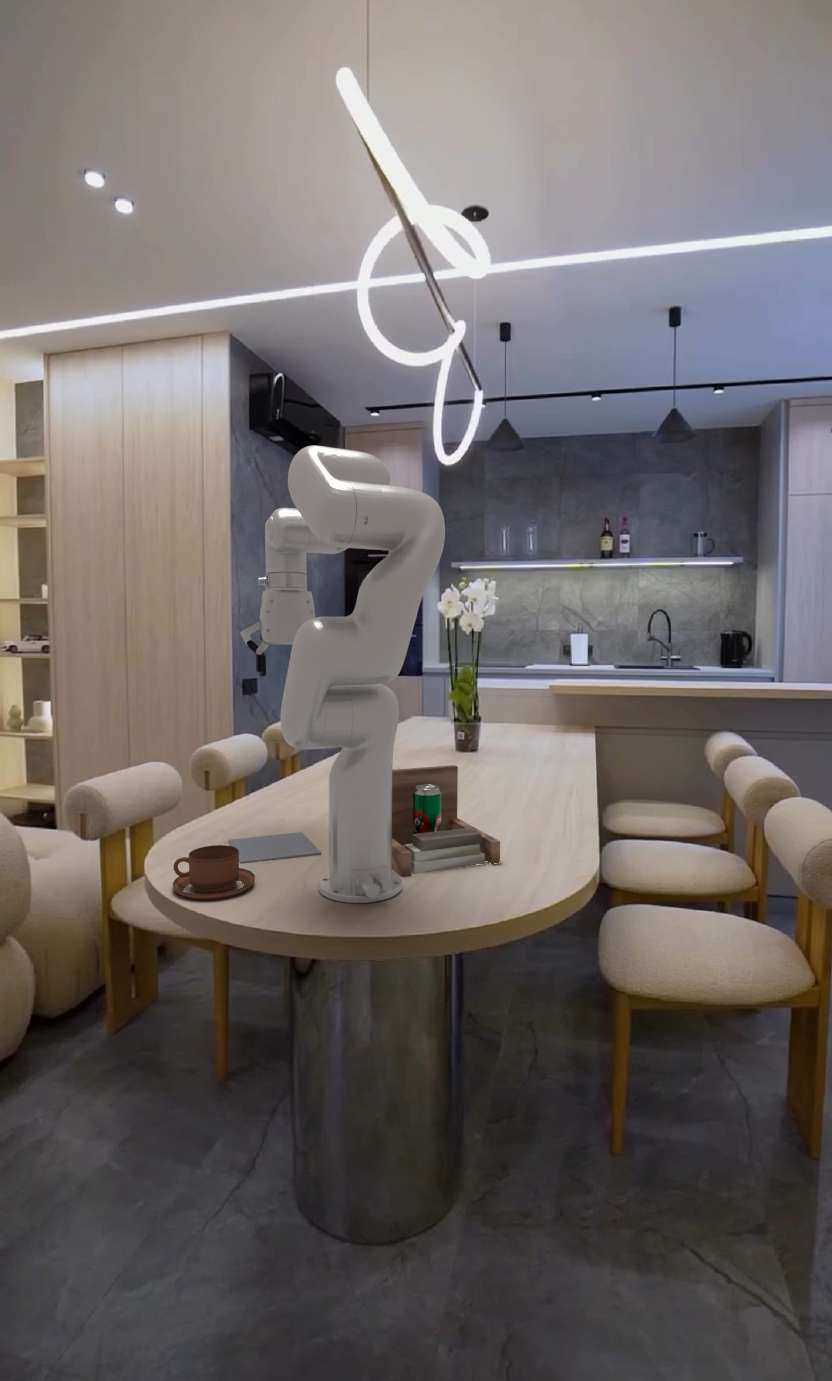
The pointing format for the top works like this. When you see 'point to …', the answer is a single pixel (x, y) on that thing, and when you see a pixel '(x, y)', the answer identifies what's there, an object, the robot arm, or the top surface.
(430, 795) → the soda can
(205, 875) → the cup and saucer
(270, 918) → the top surface
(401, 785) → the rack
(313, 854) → the mat
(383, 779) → the robot arm
